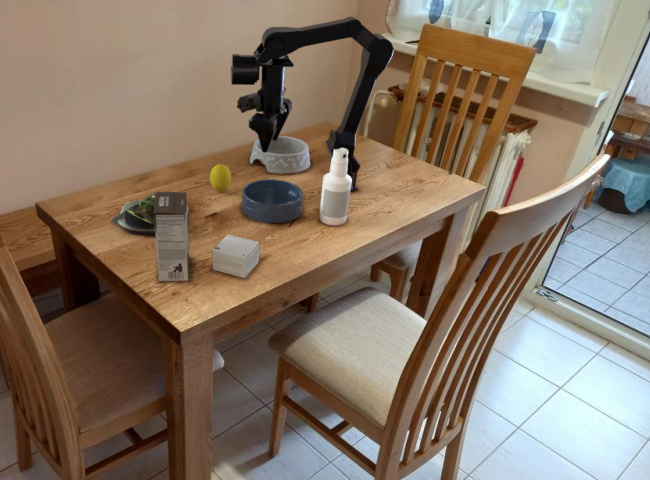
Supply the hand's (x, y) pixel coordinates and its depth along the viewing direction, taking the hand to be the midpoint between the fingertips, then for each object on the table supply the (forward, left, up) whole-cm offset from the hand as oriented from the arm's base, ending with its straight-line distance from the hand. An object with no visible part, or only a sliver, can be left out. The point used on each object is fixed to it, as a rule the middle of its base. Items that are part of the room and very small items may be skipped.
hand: (269, 146), depth 151 cm
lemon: (+13, -2, -12) cm, 18 cm away
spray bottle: (-8, +22, -12) cm, 26 cm away
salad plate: (+34, +8, -12) cm, 37 cm away
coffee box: (+35, +31, -12) cm, 48 cm away
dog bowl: (-11, -16, -12) cm, 23 cm away
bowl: (+4, +12, -12) cm, 17 cm away
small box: (+22, +34, -12) cm, 42 cm away
